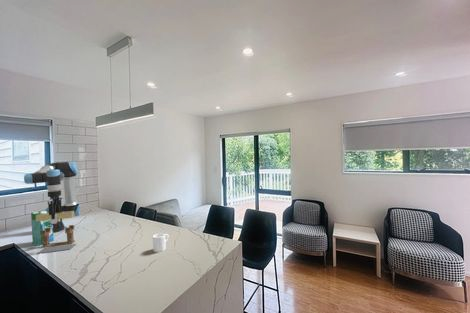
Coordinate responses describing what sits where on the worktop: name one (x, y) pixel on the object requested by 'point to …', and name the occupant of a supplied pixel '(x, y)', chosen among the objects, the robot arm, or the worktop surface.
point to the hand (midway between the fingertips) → (56, 222)
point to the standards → (47, 243)
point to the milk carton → (40, 228)
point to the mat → (57, 248)
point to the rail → (58, 215)
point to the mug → (159, 242)
